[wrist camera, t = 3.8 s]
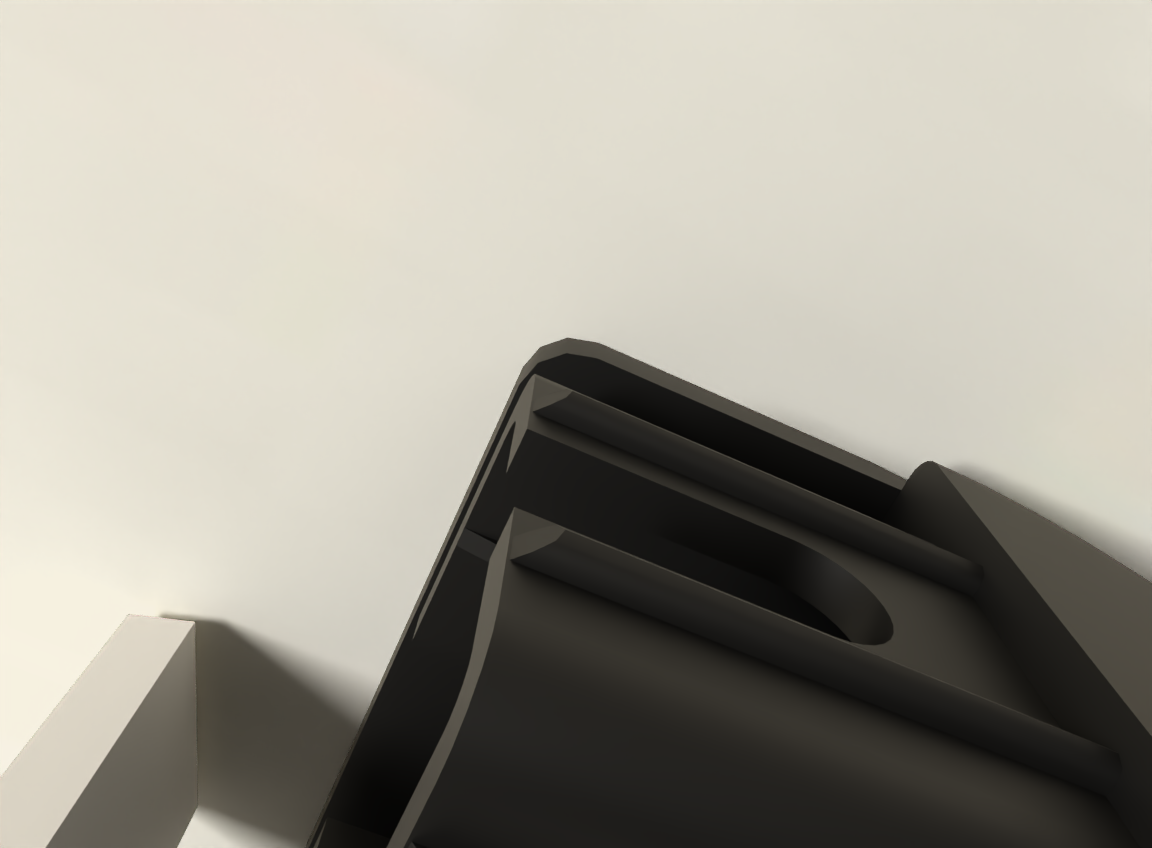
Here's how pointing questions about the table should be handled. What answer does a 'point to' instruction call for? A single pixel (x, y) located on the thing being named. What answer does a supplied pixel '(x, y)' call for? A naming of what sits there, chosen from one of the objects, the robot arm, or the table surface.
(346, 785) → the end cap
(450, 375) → the table surface
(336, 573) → the table surface
